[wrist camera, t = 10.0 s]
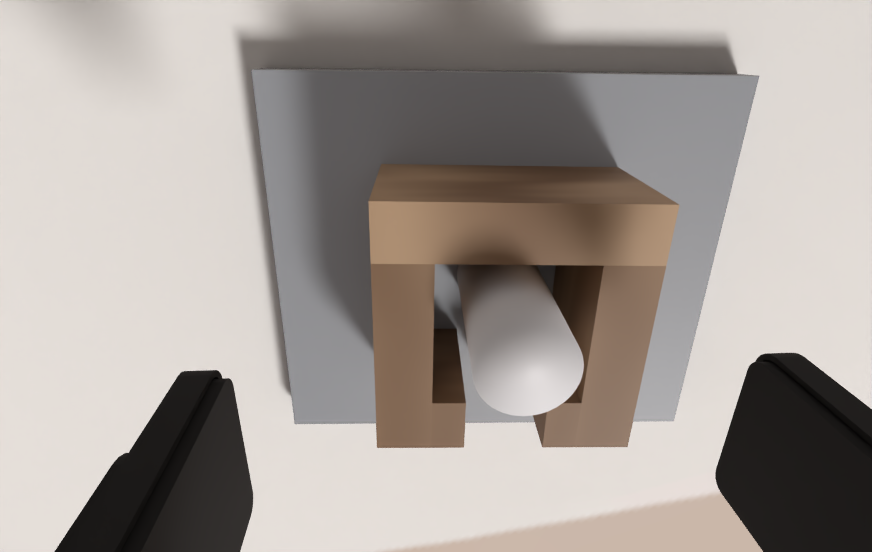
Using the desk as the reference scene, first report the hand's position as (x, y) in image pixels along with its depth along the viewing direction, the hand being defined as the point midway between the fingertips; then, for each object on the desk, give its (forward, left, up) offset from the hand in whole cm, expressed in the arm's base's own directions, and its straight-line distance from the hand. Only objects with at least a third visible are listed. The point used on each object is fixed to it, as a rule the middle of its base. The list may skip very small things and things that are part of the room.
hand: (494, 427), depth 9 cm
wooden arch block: (+1, 0, -8) cm, 8 cm away
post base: (+1, 0, -9) cm, 9 cm away
